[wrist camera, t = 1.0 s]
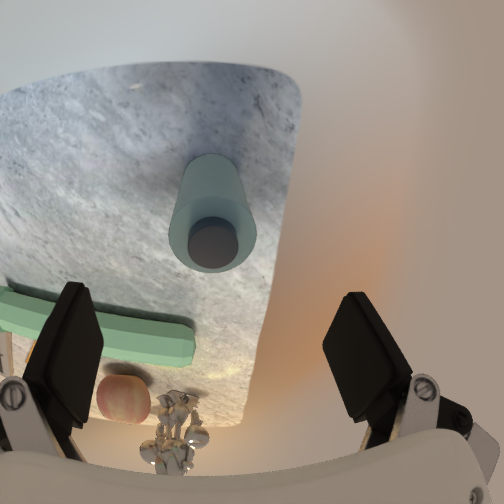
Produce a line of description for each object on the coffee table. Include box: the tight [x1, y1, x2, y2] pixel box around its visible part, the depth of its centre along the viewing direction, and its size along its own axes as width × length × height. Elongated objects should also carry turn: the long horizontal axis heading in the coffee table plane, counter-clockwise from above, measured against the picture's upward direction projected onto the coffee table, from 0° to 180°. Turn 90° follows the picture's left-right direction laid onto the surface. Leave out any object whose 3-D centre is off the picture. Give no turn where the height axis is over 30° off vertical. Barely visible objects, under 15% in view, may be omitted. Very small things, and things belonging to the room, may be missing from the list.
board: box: [25, 340, 37, 363], centre depth 30 cm, size 6×12×2 cm, turn 131°
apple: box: [97, 375, 151, 425], centre depth 31 cm, size 8×8×8 cm
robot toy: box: [140, 391, 209, 476], centre depth 33 cm, size 15×6×15 cm, turn 129°
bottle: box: [168, 154, 257, 273], centre depth 17 cm, size 4×4×10 cm
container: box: [0, 286, 196, 368], centre depth 25 cm, size 6×6×25 cm
